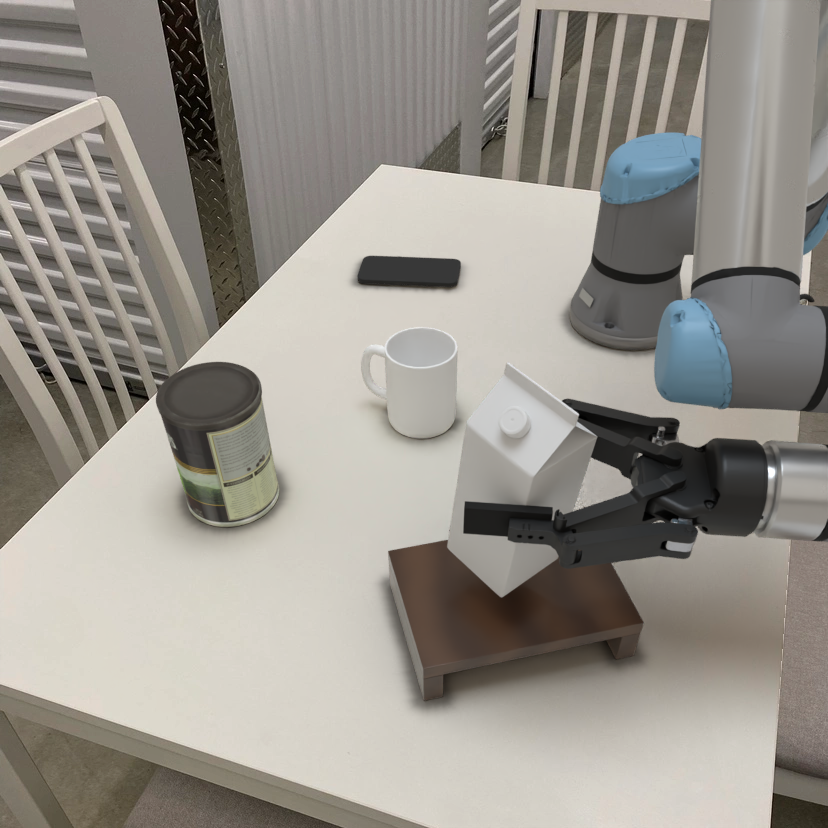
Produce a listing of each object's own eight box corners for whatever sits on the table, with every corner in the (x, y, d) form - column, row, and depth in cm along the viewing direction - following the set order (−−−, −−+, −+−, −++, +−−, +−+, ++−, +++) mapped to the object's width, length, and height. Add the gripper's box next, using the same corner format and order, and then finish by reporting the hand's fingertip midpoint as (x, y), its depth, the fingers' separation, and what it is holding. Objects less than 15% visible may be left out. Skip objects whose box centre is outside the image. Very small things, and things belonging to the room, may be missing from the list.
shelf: (578, 548, 85) (584, 513, 81) (633, 655, 75) (644, 622, 72) (389, 584, 82) (387, 550, 78) (423, 701, 72) (423, 669, 69)
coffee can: (182, 531, 87) (148, 427, 77) (192, 467, 94) (162, 364, 84) (279, 524, 88) (258, 420, 77) (281, 461, 95) (263, 357, 84)
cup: (439, 447, 96) (440, 375, 88) (348, 422, 99) (342, 350, 92) (466, 407, 101) (468, 335, 93) (379, 384, 104) (374, 313, 97)
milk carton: (502, 512, 76) (540, 344, 61) (557, 560, 73) (611, 395, 58) (445, 548, 73) (471, 380, 58) (501, 599, 70) (543, 436, 55)
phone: (364, 254, 126) (461, 258, 124) (364, 260, 126) (461, 263, 125) (355, 279, 121) (457, 283, 119) (356, 284, 121) (457, 288, 120)
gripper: (767, 634, 58) (456, 610, 60) (722, 435, 74) (475, 420, 76) (802, 564, 53) (459, 540, 55) (746, 364, 68) (479, 350, 70)
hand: (468, 470), depth 65 cm, fingers closed on milk carton, 10 cm apart
